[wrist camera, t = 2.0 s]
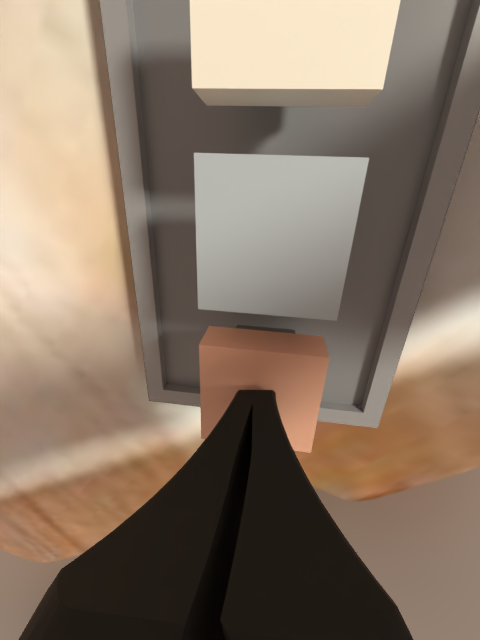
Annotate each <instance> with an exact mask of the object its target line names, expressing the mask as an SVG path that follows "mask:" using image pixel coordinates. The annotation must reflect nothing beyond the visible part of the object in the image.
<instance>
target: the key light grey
mask: <svg viewBox="0 0 480 640" xmlns="http://www.w3.org/2000/svg"><path fill="white" fill-rule="evenodd" d="M368 162H369V158H363V157H328V156H293V155H258V154H222V153H194V179H195V216H196V253H197V290H198V309H203V310H215V311H227V312H239V313H251V314H262V315H274V316H286V317H298V318H310V319H322V320H333V321H337V318H338V313H339V308H340V303H341V298H342V293H343V288H344V283H345V278H346V273H347V268H348V263H349V257H350V252H351V247H352V242H353V237H354V232H355V227H356V222H357V217H358V212H359V207H360V202H361V197H362V192H363V187H364V182H365V177H366V172H367V167H368Z"/></svg>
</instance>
